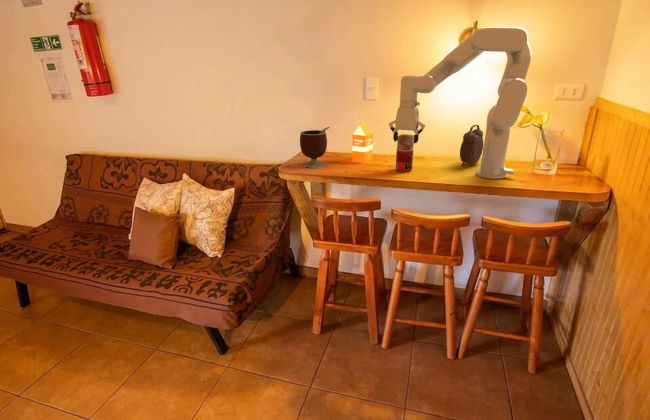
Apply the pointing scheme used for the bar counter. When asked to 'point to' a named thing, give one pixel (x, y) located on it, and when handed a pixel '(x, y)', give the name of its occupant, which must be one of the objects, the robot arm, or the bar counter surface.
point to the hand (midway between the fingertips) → (405, 142)
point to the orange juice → (362, 144)
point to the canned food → (404, 160)
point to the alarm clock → (471, 146)
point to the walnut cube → (405, 142)
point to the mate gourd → (313, 146)
